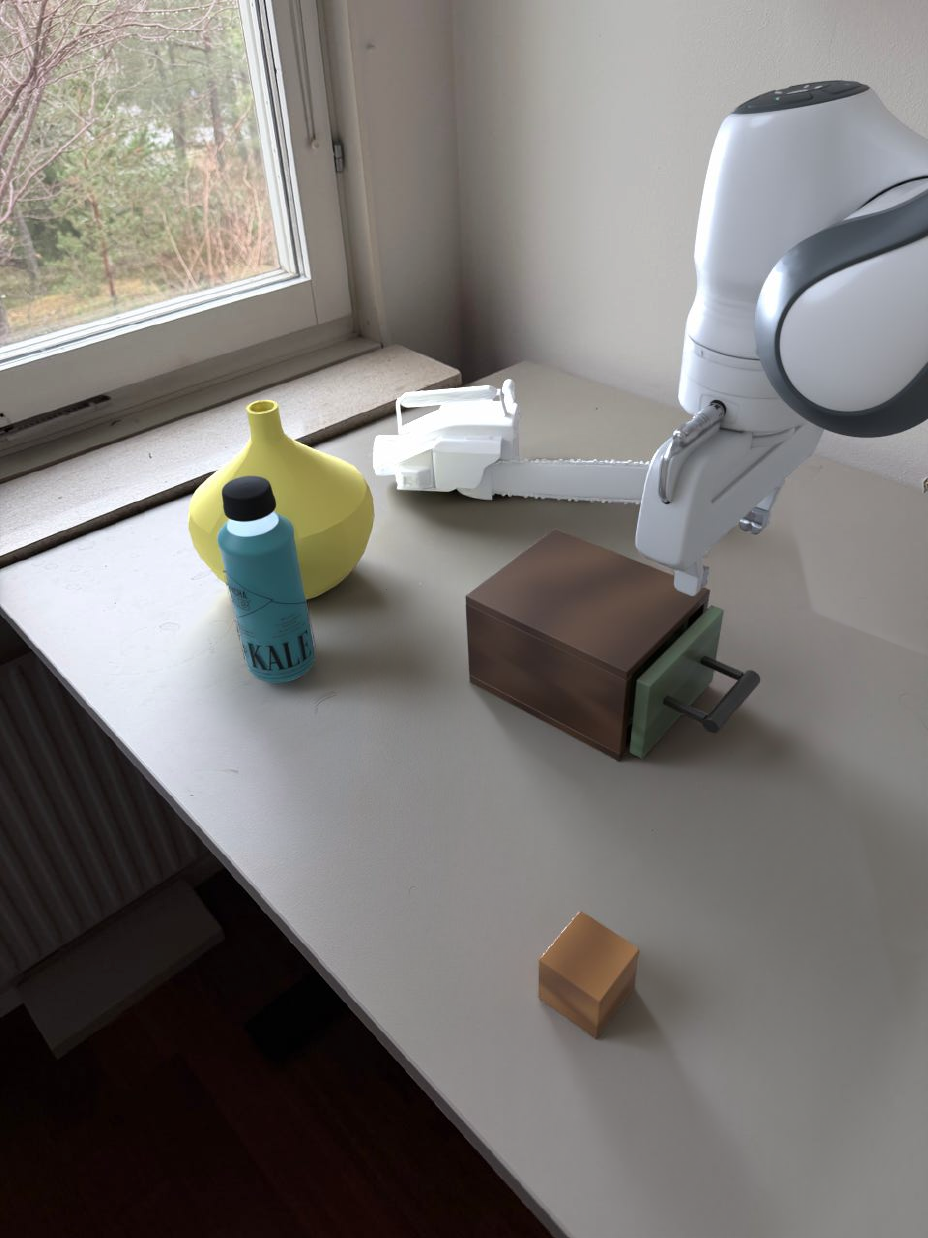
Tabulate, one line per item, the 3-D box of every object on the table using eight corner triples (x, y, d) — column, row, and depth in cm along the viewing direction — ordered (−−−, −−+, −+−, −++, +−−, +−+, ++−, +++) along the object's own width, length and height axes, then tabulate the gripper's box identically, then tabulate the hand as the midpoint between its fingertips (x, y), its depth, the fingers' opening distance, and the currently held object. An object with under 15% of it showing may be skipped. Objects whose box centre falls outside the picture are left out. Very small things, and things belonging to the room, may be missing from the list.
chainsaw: (677, 520, 103) (690, 416, 96) (369, 506, 108) (357, 407, 101) (674, 453, 115) (684, 356, 107) (395, 444, 120) (386, 350, 112)
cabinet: (697, 677, 83) (710, 589, 77) (618, 762, 76) (627, 672, 70) (552, 611, 92) (554, 527, 86) (469, 682, 84) (464, 595, 78)
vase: (240, 523, 107) (204, 363, 95) (397, 531, 104) (380, 367, 92) (178, 623, 93) (126, 450, 81) (358, 635, 90) (332, 458, 78)
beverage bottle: (279, 642, 90) (240, 456, 77) (335, 664, 87) (303, 475, 74) (233, 683, 85) (184, 493, 73) (290, 707, 83) (249, 514, 70)
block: (635, 987, 61) (640, 948, 58) (596, 1040, 58) (599, 1002, 55) (577, 948, 63) (579, 909, 60) (537, 998, 60) (538, 959, 58)
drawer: (764, 705, 79) (780, 632, 74) (696, 788, 72) (709, 714, 67) (573, 618, 89) (576, 549, 84) (498, 684, 82) (496, 613, 78)
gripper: (717, 456, 51) (688, 649, 60) (864, 335, 63) (823, 511, 72) (618, 424, 54) (605, 611, 63) (776, 316, 66) (747, 485, 75)
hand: (722, 557), depth 67 cm, fingers open, 8 cm apart
